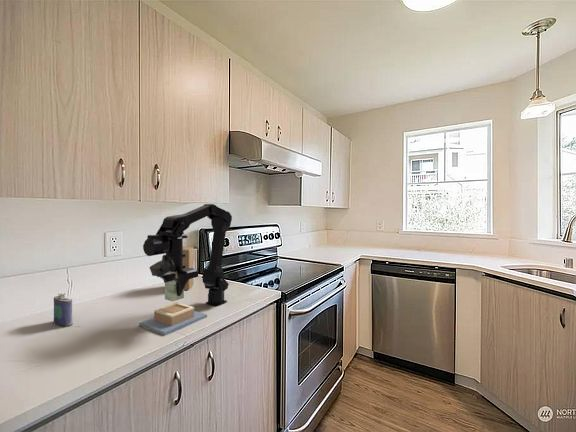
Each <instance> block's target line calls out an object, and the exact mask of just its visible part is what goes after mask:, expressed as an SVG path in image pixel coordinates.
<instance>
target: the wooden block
mask: <svg viewBox="0 0 576 432" xmlns="http://www.w3.org/2000/svg"><path fill="white" fill-rule="evenodd" d="M194 252H195V251H194V246H183V254H185V257H183V265H185V268H183V269H187V268H193V269H195V268H194V265H195V264H194V261H195V260H194V257H195V256H194V255H195V254H194ZM183 269H182V270H183ZM176 272H177V271H176ZM175 278H177V274H176V276H175ZM194 279H195V278H192V279H189V280H188V282H187V284H186V285H185V287H184V291H190V289H192V287H193V286H194V283H195V282H194Z"/></svg>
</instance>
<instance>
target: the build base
mask: <svg viewBox="0 0 576 432" xmlns="http://www.w3.org/2000/svg"><path fill="white" fill-rule="evenodd" d="M153 313H154V315H153V317H151V318H149V319H146V320H143V321H141V322H139V323H138V326H139V327H141V328H143V329H147V330H149V331H152V332H155V333H158V334H160V335H163V336H168V335H169V334H172V333H174V332H176V331H179V330H181V329H183V328H185V327H187V326H191V325H192V324H195V323H197V322H199V321H201V320H203V319H206V318H208V314H207V313H205V312H204V313H203V312H200V311H198V310H195V307H194V306H191V305H187V304H185V303H180V302H176V301H175V302H174V303H171V304H168V305H165V306H163V307H159V308H156V309H154V311H153Z"/></svg>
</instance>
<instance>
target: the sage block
mask: <svg viewBox="0 0 576 432" xmlns="http://www.w3.org/2000/svg"><path fill="white" fill-rule="evenodd" d="M184 291H185V290H183V292H182V294H181V296H177V288H176V282H175V281H174V280H173V281H169V282H165V283H164V300H167V301H171V302H176V301H178V300H182V299H184V298H185V292H184Z"/></svg>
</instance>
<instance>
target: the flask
mask: <svg viewBox="0 0 576 432" xmlns="http://www.w3.org/2000/svg"><path fill="white" fill-rule="evenodd" d="M65 295H66V293H58V294H57V295H56V296H54V297H53V324H55V325H56V326H60V327H65V328H66V327H70V326H73V324H74V323H73V299H72V298H67V297H65Z"/></svg>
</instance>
